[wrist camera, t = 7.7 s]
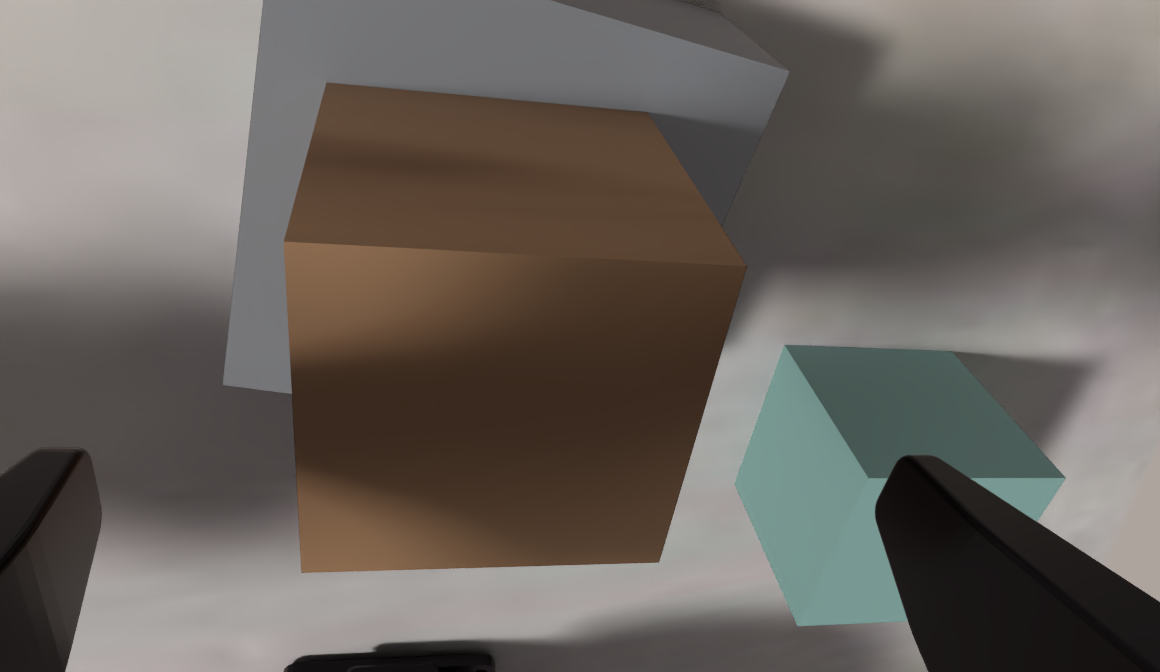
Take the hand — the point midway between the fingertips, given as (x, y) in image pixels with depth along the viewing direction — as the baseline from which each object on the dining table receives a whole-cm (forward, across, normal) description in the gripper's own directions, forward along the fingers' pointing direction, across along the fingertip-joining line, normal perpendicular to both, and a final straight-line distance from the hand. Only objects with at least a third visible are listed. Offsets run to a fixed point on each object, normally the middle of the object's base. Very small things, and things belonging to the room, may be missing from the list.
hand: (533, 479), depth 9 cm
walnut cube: (+6, 0, 0) cm, 6 cm away
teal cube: (+10, -11, +7) cm, 16 cm away
